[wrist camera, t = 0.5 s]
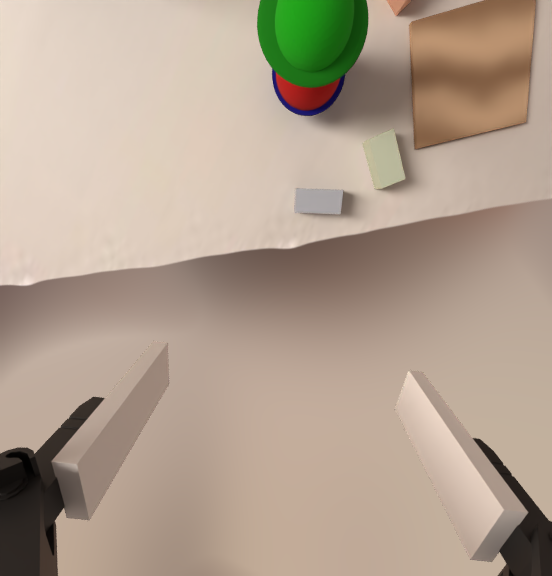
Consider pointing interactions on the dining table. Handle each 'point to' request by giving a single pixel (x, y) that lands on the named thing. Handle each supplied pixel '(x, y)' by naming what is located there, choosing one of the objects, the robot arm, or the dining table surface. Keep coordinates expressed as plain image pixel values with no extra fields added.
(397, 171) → the sage brick
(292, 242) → the dining table surface
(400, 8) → the terracotta brick
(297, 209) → the slate brick
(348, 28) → the toy
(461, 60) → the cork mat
